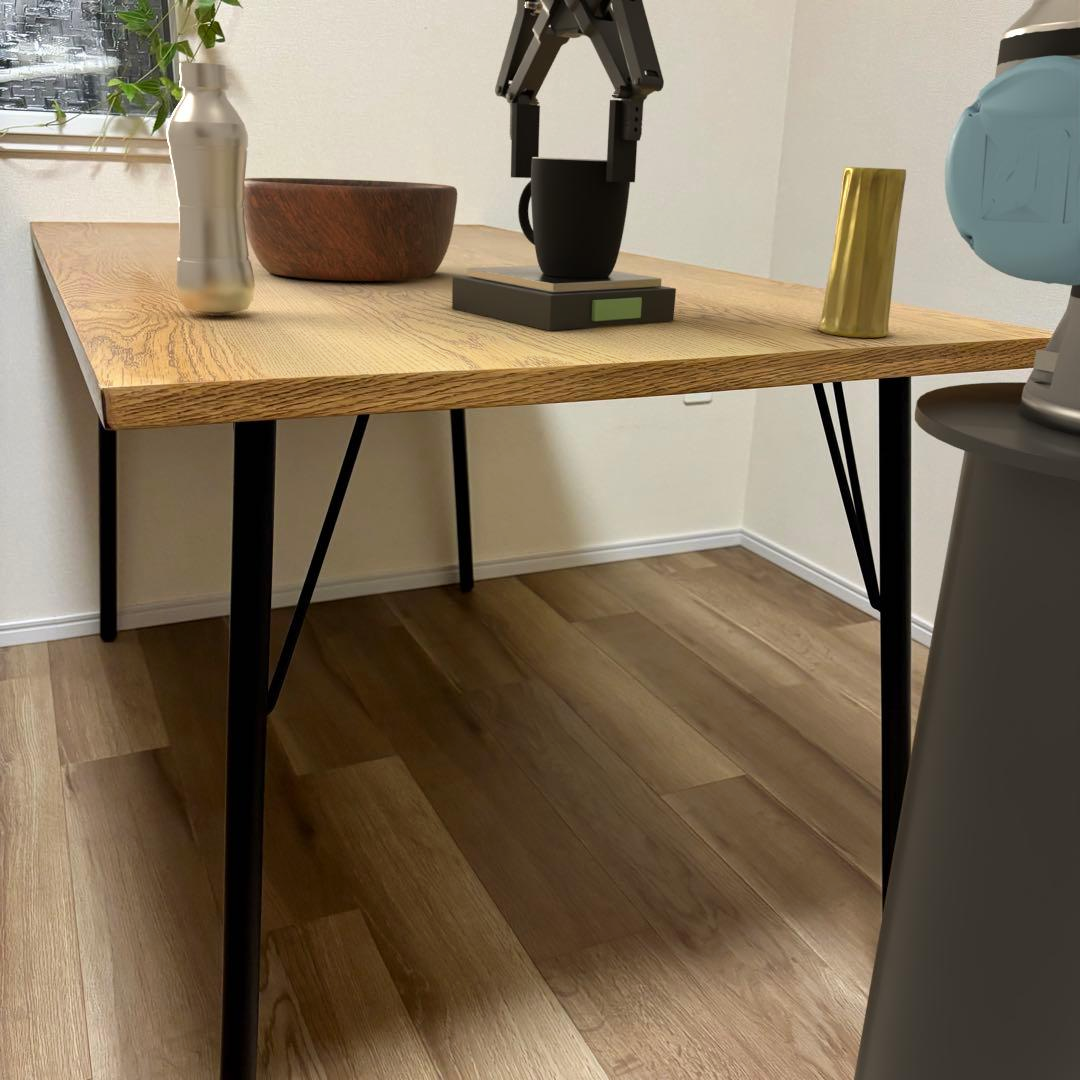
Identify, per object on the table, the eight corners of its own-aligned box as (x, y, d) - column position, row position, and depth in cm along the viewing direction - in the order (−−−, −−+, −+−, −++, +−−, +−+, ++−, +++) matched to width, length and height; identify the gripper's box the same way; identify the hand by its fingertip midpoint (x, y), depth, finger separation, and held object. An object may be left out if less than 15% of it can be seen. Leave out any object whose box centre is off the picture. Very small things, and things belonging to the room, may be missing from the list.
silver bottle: (214, 306, 99) (200, 67, 92) (272, 314, 96) (262, 68, 89) (160, 314, 93) (141, 60, 87) (220, 322, 90) (205, 61, 84)
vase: (891, 340, 96) (916, 169, 91) (820, 335, 97) (841, 166, 92) (883, 330, 102) (906, 169, 97) (816, 326, 102) (836, 166, 98)
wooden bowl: (425, 263, 144) (426, 181, 141) (483, 285, 122) (485, 190, 119) (231, 262, 136) (226, 175, 132) (255, 286, 114) (250, 183, 110)
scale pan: (661, 287, 101) (661, 278, 101) (553, 293, 93) (553, 283, 93) (571, 272, 111) (572, 264, 110) (466, 276, 103) (466, 268, 103)
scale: (676, 321, 102) (679, 288, 101) (552, 331, 93) (554, 296, 92) (571, 300, 113) (572, 271, 112) (451, 308, 104) (452, 276, 103)
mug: (644, 277, 101) (652, 161, 97) (578, 282, 95) (584, 159, 91) (551, 265, 109) (555, 157, 105) (485, 268, 103) (487, 155, 99)
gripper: (459, -71, 99) (458, 175, 106) (650, -118, 80) (633, 183, 87) (524, -58, 103) (519, 177, 110) (719, -101, 85) (698, 184, 92)
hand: (569, 180), depth 99 cm, fingers open, 13 cm apart
